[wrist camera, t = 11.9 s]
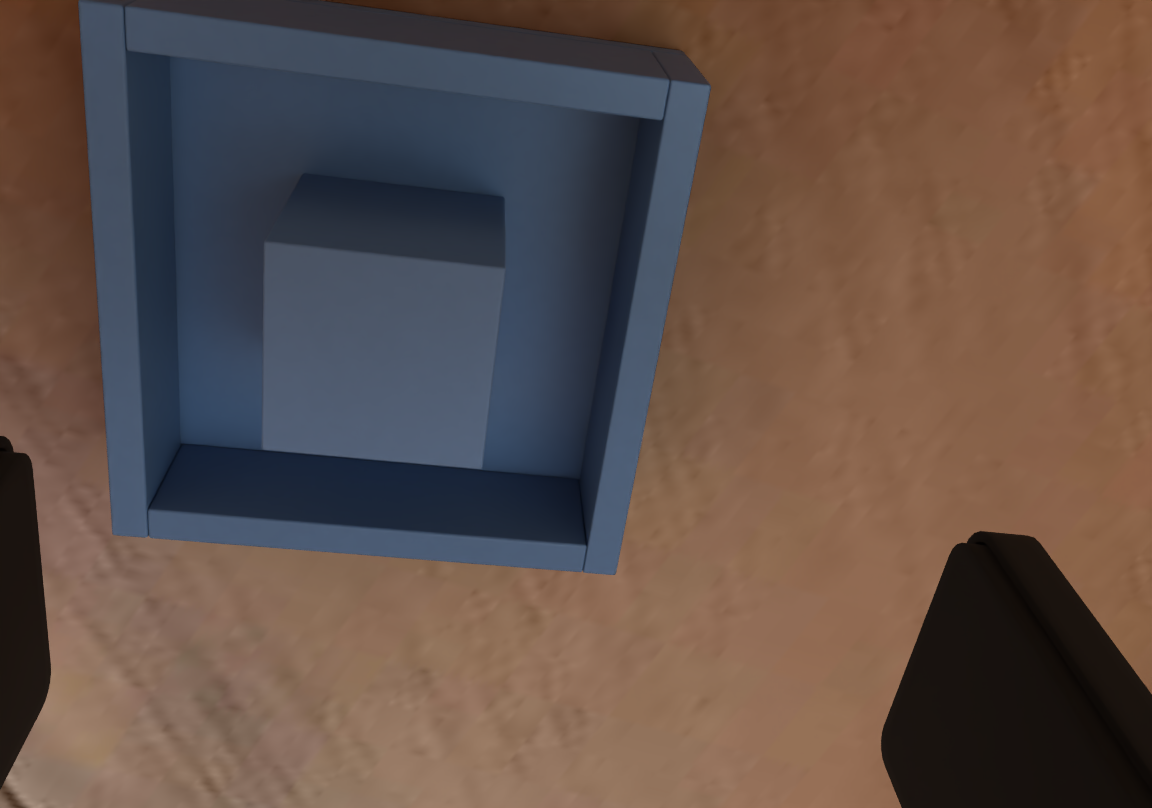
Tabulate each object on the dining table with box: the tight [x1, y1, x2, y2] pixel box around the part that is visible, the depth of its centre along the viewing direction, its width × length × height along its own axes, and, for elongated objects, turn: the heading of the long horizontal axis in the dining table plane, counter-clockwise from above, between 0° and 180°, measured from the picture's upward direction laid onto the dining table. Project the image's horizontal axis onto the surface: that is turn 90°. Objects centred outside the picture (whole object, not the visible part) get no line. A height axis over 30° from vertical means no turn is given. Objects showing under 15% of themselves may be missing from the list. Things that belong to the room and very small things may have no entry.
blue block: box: [262, 173, 506, 469], centre depth 23 cm, size 4×4×4 cm
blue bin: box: [78, 0, 711, 575], centre depth 24 cm, size 12×12×4 cm
